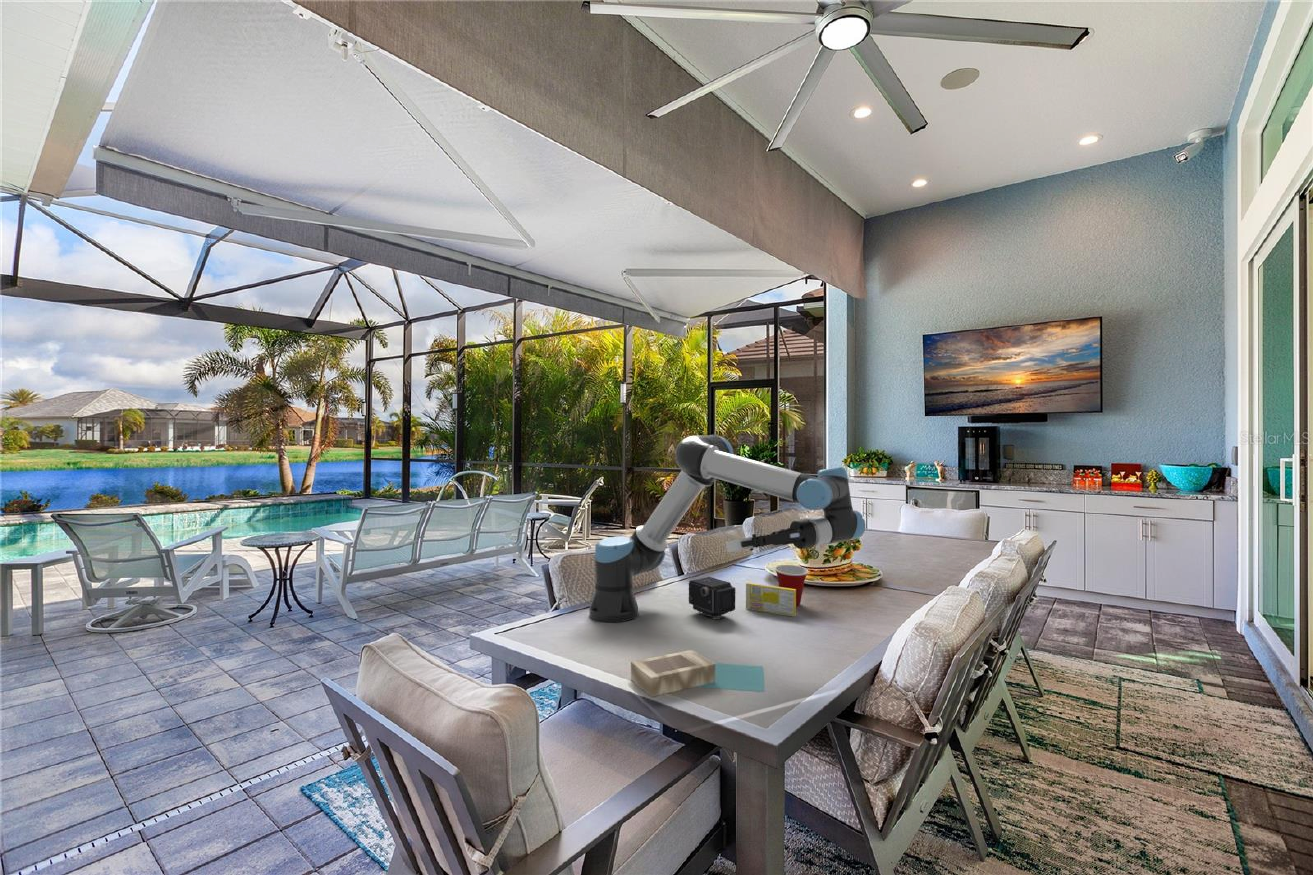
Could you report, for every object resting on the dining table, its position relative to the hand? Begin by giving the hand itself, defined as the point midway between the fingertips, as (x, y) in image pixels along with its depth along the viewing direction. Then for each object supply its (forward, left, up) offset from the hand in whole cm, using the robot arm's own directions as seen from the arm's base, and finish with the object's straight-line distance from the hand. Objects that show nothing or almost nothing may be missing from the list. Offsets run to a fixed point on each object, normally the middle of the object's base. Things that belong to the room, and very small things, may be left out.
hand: (727, 546), depth 145 cm
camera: (-7, +36, -28) cm, 46 cm away
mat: (-5, -10, -28) cm, 30 cm away
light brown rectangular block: (-5, -10, -26) cm, 28 cm away
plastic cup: (+18, +52, -28) cm, 62 cm away
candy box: (+11, +43, -29) cm, 53 cm away
